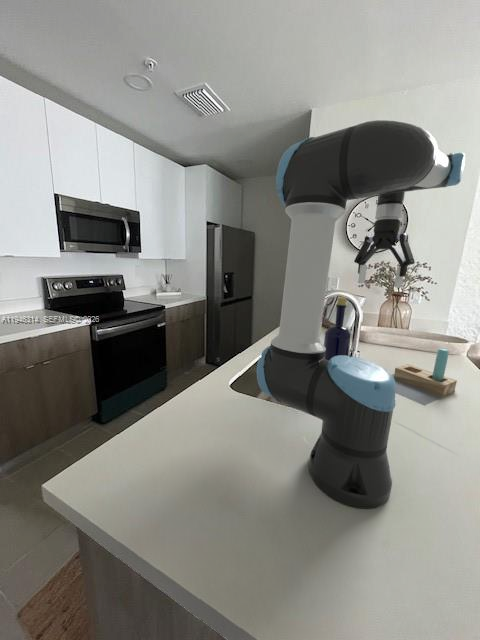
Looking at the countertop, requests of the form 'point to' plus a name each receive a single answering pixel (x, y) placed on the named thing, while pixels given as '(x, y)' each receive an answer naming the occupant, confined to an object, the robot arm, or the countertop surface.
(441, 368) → the peg
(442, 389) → the block
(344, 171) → the robot arm
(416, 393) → the mat
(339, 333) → the bottle
